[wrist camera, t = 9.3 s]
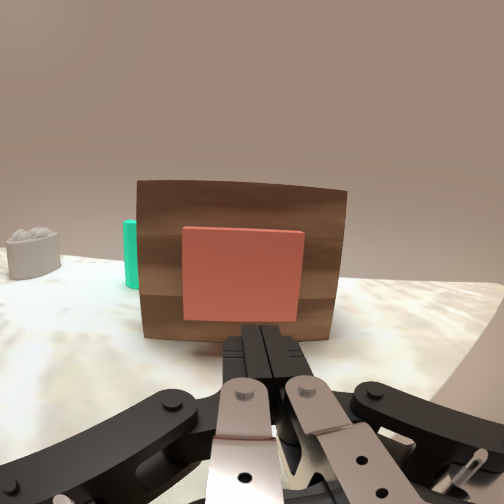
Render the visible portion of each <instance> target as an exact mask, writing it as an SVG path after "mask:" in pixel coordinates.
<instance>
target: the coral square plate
mask: <svg viewBox="0 0 504 504" xmlns="http://www.w3.org/2000/svg"><path fill="white" fill-rule="evenodd" d="M304 240H305V233H303V232H302V231H293V230H273V229H249V228H223V227H189V226H185V227H184V228H183V229H182V276H183V310H184V320H201V321H234V322H287V321H296V316H297V308H298V299H299V291H300V281H301V272H302V262H303V251H304Z"/></svg>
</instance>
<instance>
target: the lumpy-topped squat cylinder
mask: <svg viewBox="0 0 504 504" xmlns="http://www.w3.org/2000/svg"><path fill="white" fill-rule="evenodd" d="M6 250H7V258H8V266H9V273H10V278H11V279H12V280H26V279H32V278H36V277H40V276H43V275H46V274H48V273H51V272H53V271H55V270H56V269H58V268H60V267H61V264H60V254H59V243H58V233H55V232H52V231H51V230H50V229H49V228H33V229H31V230H30V231H29V232H25V230H23V229H19V230H17V231H16V232H15V233H13V235H12V237H11V238H10V239H9V240H7V241H6Z"/></svg>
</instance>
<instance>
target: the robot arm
mask: <svg viewBox="0 0 504 504" xmlns="http://www.w3.org/2000/svg"><path fill="white" fill-rule="evenodd" d="M271 425H276V429H277V433H276V438H275V437H272V430H271ZM380 427H384V428H386V429H388V430H391V431H393V432H395V433H398V434H400V435H403V436H405V437H408V438H410V439H412V440H413V441H414V443H413V444H411V445H404V444H402V443H399V442H397V441H395V440H392V439H390V438H387V437H385V436H383V435H381V434H378V431H379V429H380ZM278 451H279V454H280V457H281V460H282V463H283V466H284V469H285V472H286V475H287V478H288V482H289V490H288V489H282V481H281V472H280V464H279V455H278ZM208 459H210V468H209V477H208V486H207V495H206V498H203V499H199V500H197V501H194V502H191V503H189V504H498V503H499V499H500V495H501V491H502V487H503V481H504V425H503V424H499V423H495V422H492V421H488V420H484V419H481V418H478V417H474V416H471V415H468V414H465V413H462V412H459V411H455V410H452V409H449V408H446V407H443V406H441V405H437V404H435V403H432V402H429V401H426V400H424V399H421V398H418V397H416V396H413V395H410V394H408V393H405V392H402V391H400V390H397V389H395V388H392V387H390V386H387V385H385V384H382V383H379V382H373V381H369V382H363V383H361V384H359V385H358V386H357V387H356V388H355V390H354V393H346V392H336V391H331V390H330V388H329V387H328V385H327V384H326V383H325V382H324V381H323V380H321V379H319V378H317V377H314V375H313V373H312V371H311V369H310V367H309V365H308V363H307V360H306V358H305V357H304V354H303V352H302V351H301V348H300V346H299V343H298V342H297V341H296V340H294V339H293V338H292V337H291V336H282V335H281V332H280V330H279V327H278V325H260V326H259V325H241V328H240V336H228V337H227V338H226V339H225V341H224V342H223V385H222V388H221V389H220V390H219V391H218V392H217V393H216V394H214V395H212V396H210V397H206V398H201V399H196V400H195V398H194V397H193V396H192V395H191V394H189V393H188V392H185V391H183V390H178V389H166V390H162V391H159V392H157V393H155V394H153V395H152V396H150V397H148V398H146V399H145V400H143V401H141V402H139V403H137V404H136V405H134V406H132V407H130V408H128V409H126V410H124V411H123V412H121V413H119V414H117V415H115V416H113V417H111V418H109V419H107V420H105V421H103V422H101V423H99V424H97V425H95V426H93V427H91V428H89V429H87V430H85V431H83V432H81V433H79V434H77V435H75V436H72V437H70V438H68V439H66V440H64V441H61V442H59V443H57V444H55V445H52V446H50V447H48V448H45V449H43V450H40V451H38V452H35V453H33V454H30V455H28V456H25V457H23V458H20V459H17V460H15V461H12V462H9V463H6V464H3V465H1V466H0V504H148V503H150V502H151V501H153V500H154V499H155V498H157V497H158V496H160V495H161V494H163V493H164V492H165V491H167V490H168V489H169V488H171V487H172V486H173V485H175V484H176V483H177V482H179V481H180V480H181V479H183V478H184V477H185V476H186V475H188V474H189V473H190V472H191V471H193V470H194V469H195V468H196V467H197V466H199V465H200V463H201V461H203V460H208Z"/></svg>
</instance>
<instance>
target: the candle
mask: <svg viewBox="0 0 504 504" xmlns="http://www.w3.org/2000/svg"><path fill="white" fill-rule="evenodd" d="M123 236H124V237H123V238H124V261H125V276H126V286H128V287H130V288H133V289H139V281H138V264H137V234H136V221H133V220H127V221H124V222H123Z"/></svg>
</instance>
